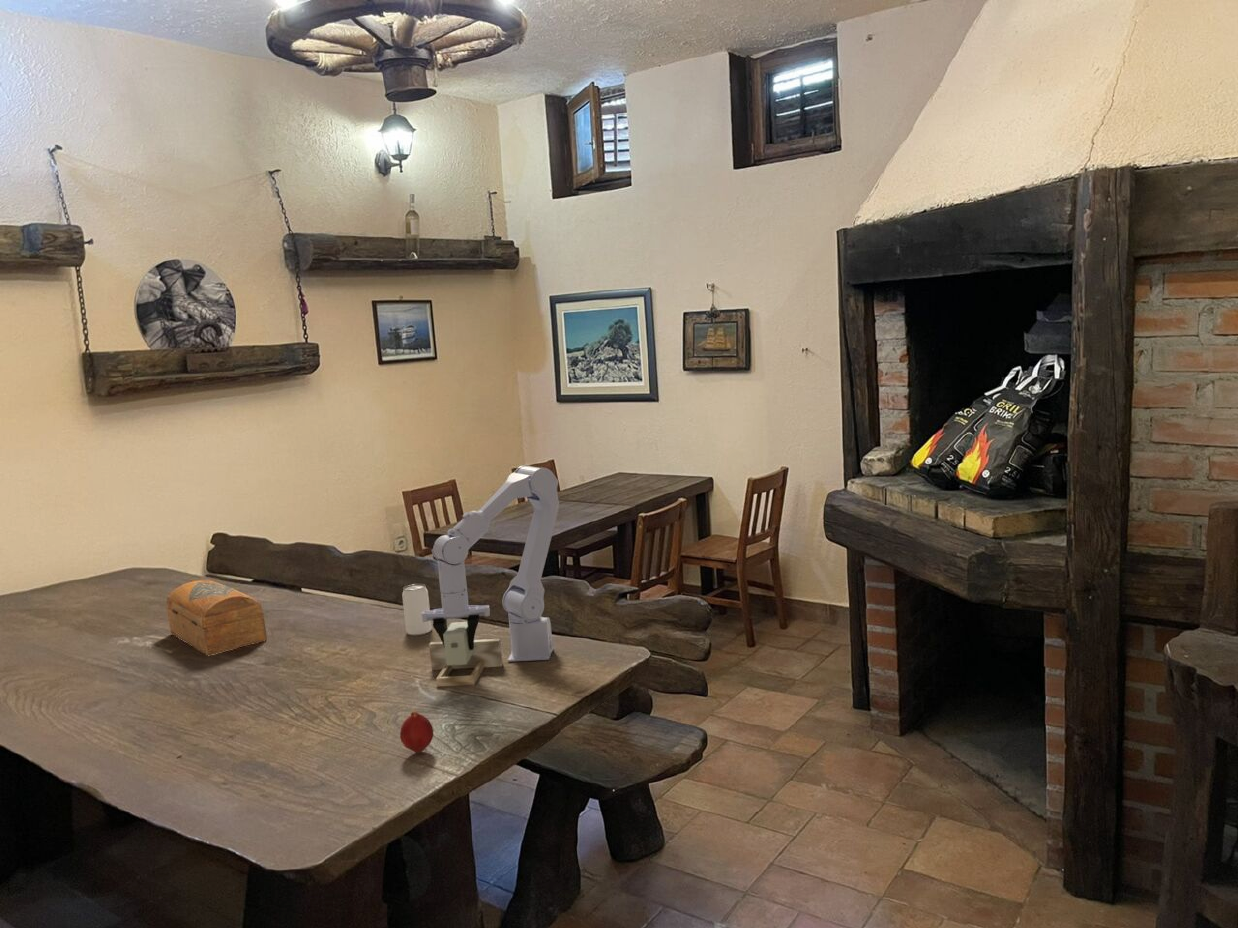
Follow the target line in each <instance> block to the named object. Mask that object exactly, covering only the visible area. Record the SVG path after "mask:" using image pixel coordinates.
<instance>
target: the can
mask: <svg viewBox="0 0 1238 928" xmlns="http://www.w3.org/2000/svg"><path fill="white" fill-rule="evenodd" d="M402 588H403V592H402V597H401V598H402V606H403V615H404V625H405V631H406V634H407V635H408V636H409V635H410V636H421V635H425V634H426V635H427V634H428V633H430V632H431V630H432V627H433V626H432V620H431V621H428V622H423V620H422V613H423V611H429V610H431V608H430V599H429V590H428V589H427V588H426V584H424V583H413V584H409V585H405V586H404V587H402Z"/></svg>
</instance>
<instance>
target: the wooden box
mask: <svg viewBox="0 0 1238 928" xmlns="http://www.w3.org/2000/svg"><path fill="white" fill-rule="evenodd" d="M166 606H167V608H166V609H167V616H168V624H169V625H168V626H169V631H170V634H171V633H172V634H174V635H175V636H177V637H179V638H180V639H182V640H184V641H186V642H187V643H188V644H190V645H192V646H193V647H194V648H193V647H192V648H193V649H195V648H196V649H199V650H200V651H202V652H204V653H205V654H207V655H212V654H216V653H219V652H223V651H226V650H230V649H236V648H238V647H241V646H245V645H249V644H252V643H257V642H260V641H264V640H268V639H267V637H268V636H267V629H266V624H265V616H264V612H263V607H262V604H261V603H260V602H259V601H258V600H256V599H255V598H253V597H252V596H250V595H248V594H245V593H243V592H241V591H238V590H237V589H235V588H233V587H229V586H227V585H225V584H222V583H220V582H217V581H214V580H212V579H211V580H210V579H198V580H194V581H190V582H186V583H183V584H181V585H180V586H178V587H176V588H175V589H173V591H171V593H170V594H169V595H168V596H167V597H166ZM172 634H171V635H172ZM175 636H174V637H175ZM180 639H179V640H180ZM264 642H265V641H264ZM188 644H187V645H188ZM257 644H258V643H257ZM190 645H189V646H190ZM196 649H195V650H196ZM236 650H237V649H236ZM200 651H199V652H200ZM205 654H204V655H205ZM207 655H206V656H207Z"/></svg>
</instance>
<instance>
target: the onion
mask: <svg viewBox="0 0 1238 928" xmlns="http://www.w3.org/2000/svg"><path fill="white" fill-rule="evenodd" d="M433 737H434V728H433V724H432V723H431V722H430V721H429V719H428V718H426V716H424V715H422V714H420V713H419V712H417V711H416V710H413V711H411V713H410V715H409V716H408V717H407V718H406V719H405V720H404V721H403V723H402V725H401V728H400V732H399V738H400V741H401V743H402V744H403V746H404V747H405V748H407V749H408V750H410V751H412V752H414V753H415V754H421V753H422V752H423V751H424V750H425V749H426V748H428V747H429V745H430V744H431V742H432V740H433Z"/></svg>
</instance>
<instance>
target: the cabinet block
mask: <svg viewBox="0 0 1238 928" xmlns="http://www.w3.org/2000/svg"><path fill="white" fill-rule="evenodd" d="M443 637H444V646H445V656H446V665H464V664H467V663H468V661H469V659H470V658H471V656H472V654H473V652H474V648H473V650H470V647H469V631H468V624H467V621H458V622H457V621H455V622H451V623H450V624H449V625H448V626H447V630H446V631H445V633H444V634H443Z"/></svg>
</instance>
